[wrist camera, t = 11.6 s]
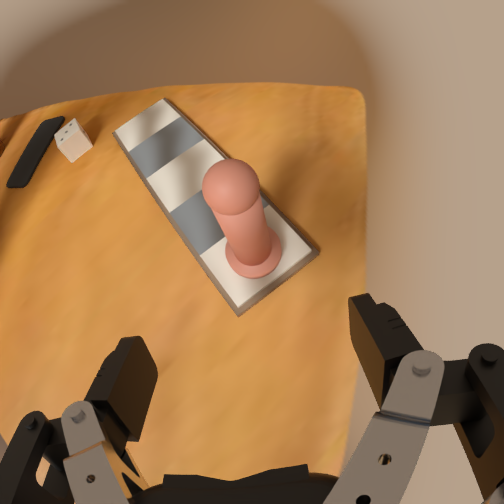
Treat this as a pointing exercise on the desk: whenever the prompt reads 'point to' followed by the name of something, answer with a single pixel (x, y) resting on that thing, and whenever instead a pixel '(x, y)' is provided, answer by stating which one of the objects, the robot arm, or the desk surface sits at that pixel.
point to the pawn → (242, 218)
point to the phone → (34, 152)
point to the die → (73, 140)
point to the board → (202, 201)
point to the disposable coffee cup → (1, 147)
